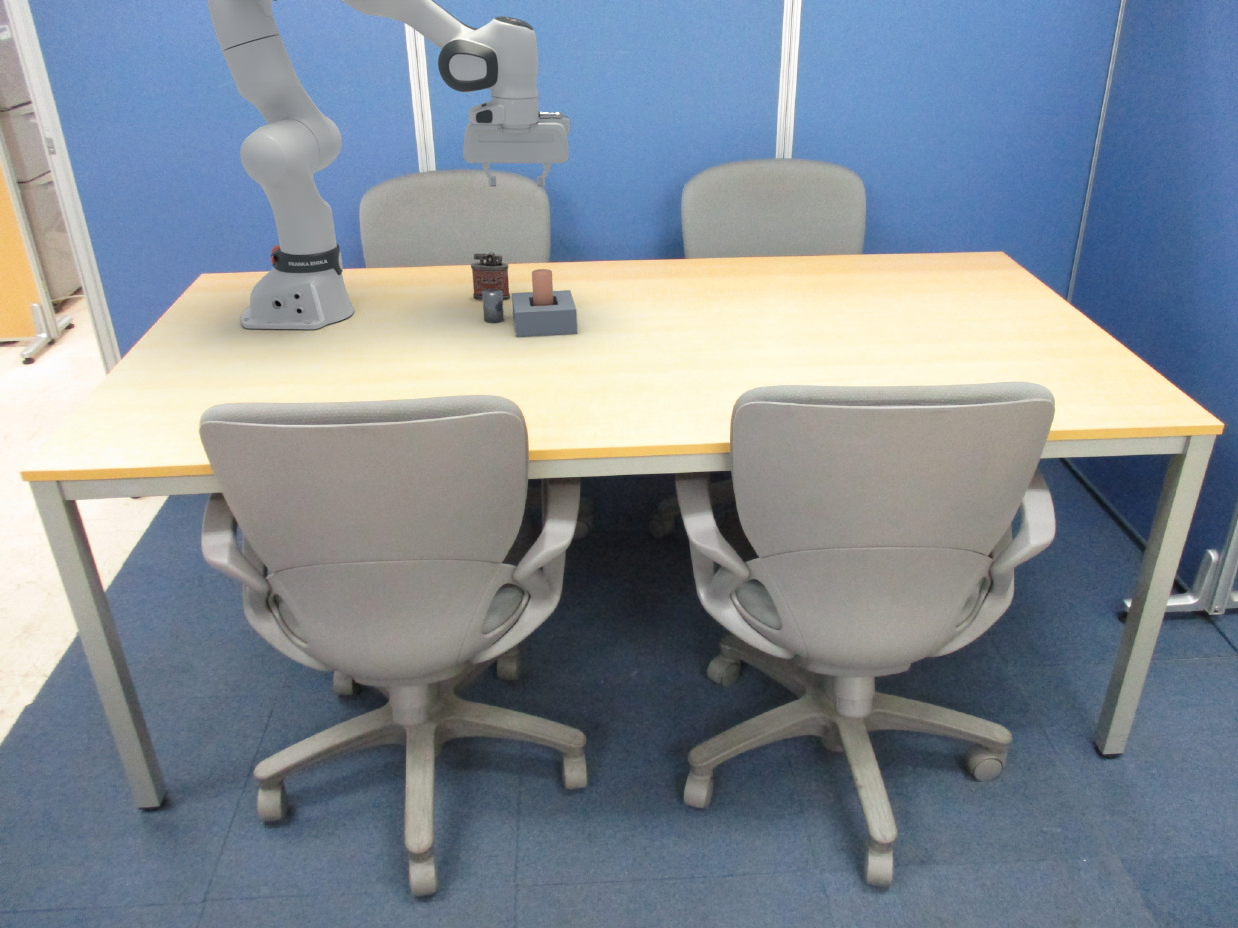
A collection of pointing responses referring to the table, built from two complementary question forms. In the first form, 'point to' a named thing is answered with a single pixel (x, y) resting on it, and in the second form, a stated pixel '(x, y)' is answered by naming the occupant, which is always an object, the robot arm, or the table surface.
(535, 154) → the robot arm
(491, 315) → the short pin
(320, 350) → the table surface
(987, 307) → the table surface
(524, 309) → the bore block
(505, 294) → the lighter
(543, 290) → the long pin
